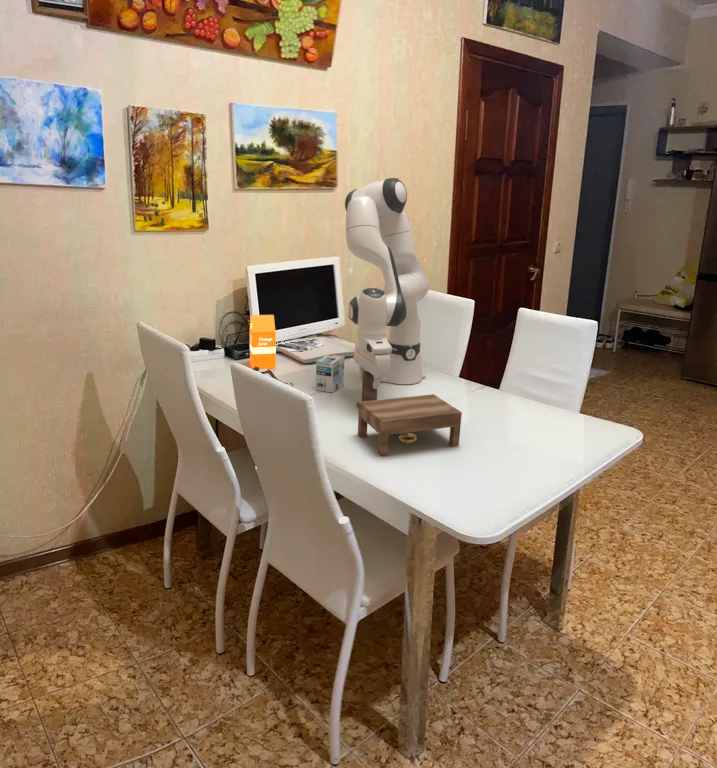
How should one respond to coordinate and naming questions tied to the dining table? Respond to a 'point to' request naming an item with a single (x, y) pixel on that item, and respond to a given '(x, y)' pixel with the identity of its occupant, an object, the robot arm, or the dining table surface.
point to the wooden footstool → (408, 418)
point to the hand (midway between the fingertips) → (369, 383)
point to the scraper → (368, 387)
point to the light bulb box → (330, 373)
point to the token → (407, 438)
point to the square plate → (319, 350)
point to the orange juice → (262, 342)
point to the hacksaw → (268, 372)
